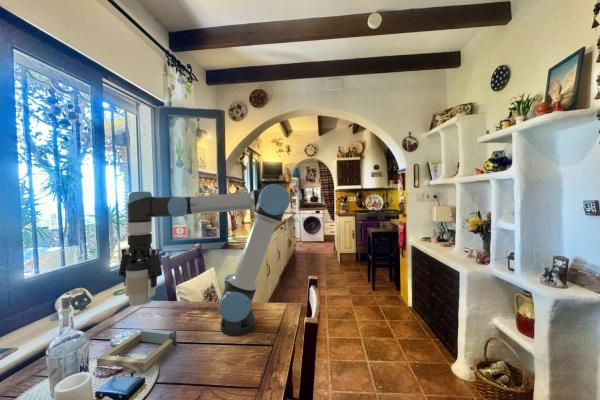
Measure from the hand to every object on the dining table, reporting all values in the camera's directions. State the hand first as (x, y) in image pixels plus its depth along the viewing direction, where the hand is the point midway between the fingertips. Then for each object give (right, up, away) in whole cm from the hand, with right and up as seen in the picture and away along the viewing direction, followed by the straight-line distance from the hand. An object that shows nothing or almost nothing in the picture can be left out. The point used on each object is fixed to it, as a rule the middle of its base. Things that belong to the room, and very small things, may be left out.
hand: (140, 295), depth 92 cm
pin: (+10, -21, +6) cm, 24 cm away
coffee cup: (0, -3, 0) cm, 3 cm away
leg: (+2, -21, +7) cm, 22 cm away
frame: (+1, -21, -1) cm, 21 cm away
